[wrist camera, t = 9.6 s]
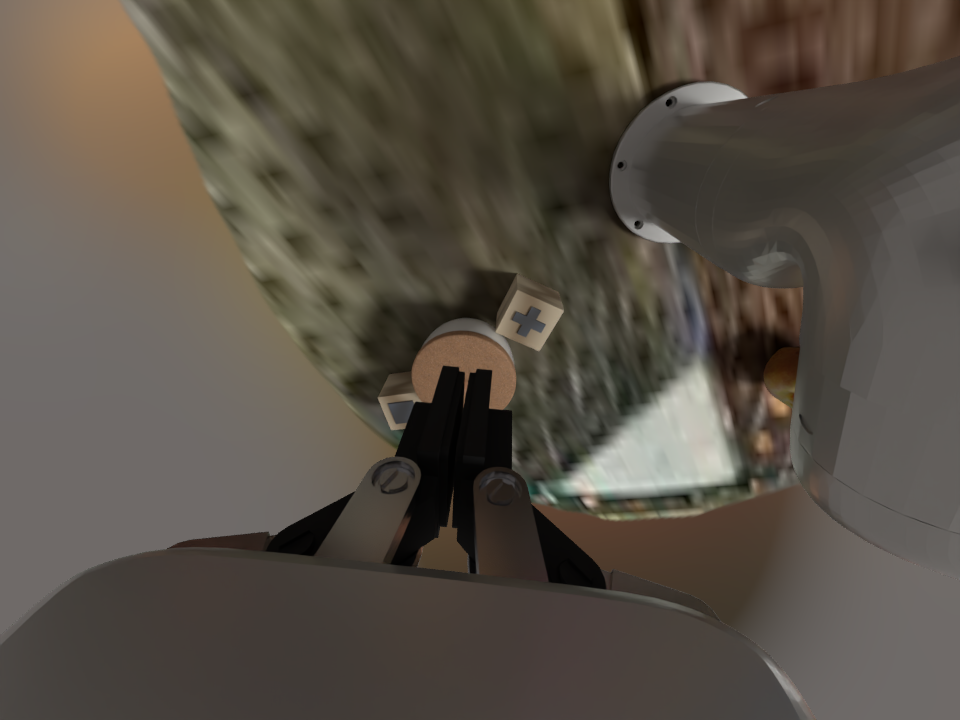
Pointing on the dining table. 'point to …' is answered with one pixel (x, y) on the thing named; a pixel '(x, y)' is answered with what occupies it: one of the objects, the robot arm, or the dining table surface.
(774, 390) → the fruit
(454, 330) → the lidded jar
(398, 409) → the marked cube 1
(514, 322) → the marked cube 2
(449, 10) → the dining table surface
